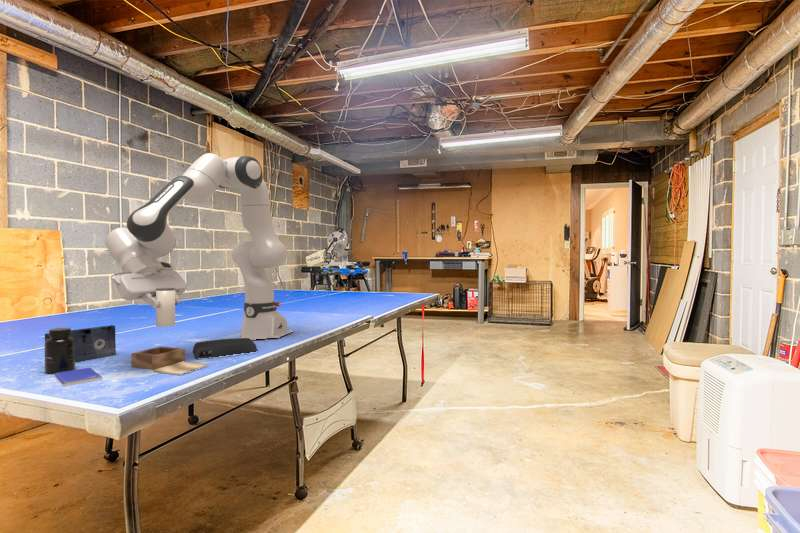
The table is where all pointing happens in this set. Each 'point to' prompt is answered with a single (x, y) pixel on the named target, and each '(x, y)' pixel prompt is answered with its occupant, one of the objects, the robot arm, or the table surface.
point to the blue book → (77, 376)
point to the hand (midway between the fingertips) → (167, 305)
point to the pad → (180, 368)
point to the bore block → (157, 357)
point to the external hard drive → (223, 347)
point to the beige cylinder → (165, 307)
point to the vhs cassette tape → (93, 342)
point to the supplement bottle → (59, 351)
